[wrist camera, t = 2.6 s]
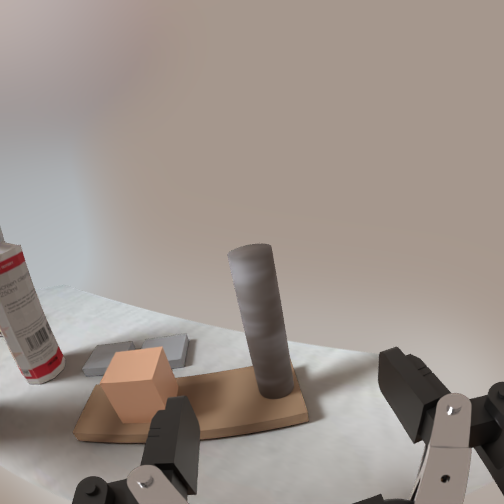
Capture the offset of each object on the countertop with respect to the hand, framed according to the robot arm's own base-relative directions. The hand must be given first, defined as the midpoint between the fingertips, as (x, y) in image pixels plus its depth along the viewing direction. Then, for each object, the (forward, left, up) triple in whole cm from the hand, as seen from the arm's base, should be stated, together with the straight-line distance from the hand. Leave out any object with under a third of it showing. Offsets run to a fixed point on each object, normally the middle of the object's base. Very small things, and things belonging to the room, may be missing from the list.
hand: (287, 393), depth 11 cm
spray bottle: (-33, +22, -12) cm, 42 cm away
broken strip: (-17, +23, -12) cm, 31 cm away
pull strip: (-9, +12, -12) cm, 19 cm away
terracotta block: (-12, +12, -10) cm, 20 cm away
